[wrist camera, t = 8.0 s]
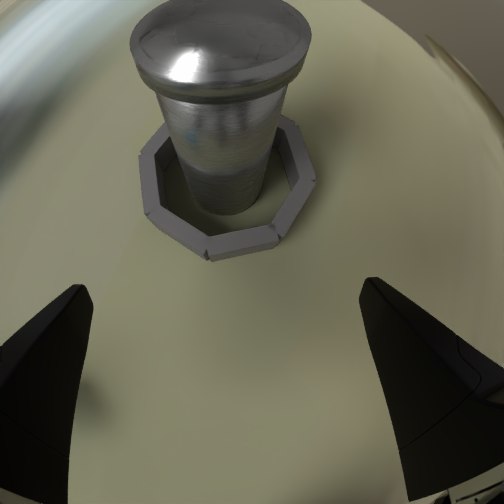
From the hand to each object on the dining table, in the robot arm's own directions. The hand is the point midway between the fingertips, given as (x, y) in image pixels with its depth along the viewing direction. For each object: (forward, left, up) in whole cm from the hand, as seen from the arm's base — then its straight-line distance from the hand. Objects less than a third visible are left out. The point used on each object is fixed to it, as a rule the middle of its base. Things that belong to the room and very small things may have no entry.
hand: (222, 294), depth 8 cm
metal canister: (+7, -1, -9) cm, 12 cm away
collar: (+7, -1, -9) cm, 12 cm away
